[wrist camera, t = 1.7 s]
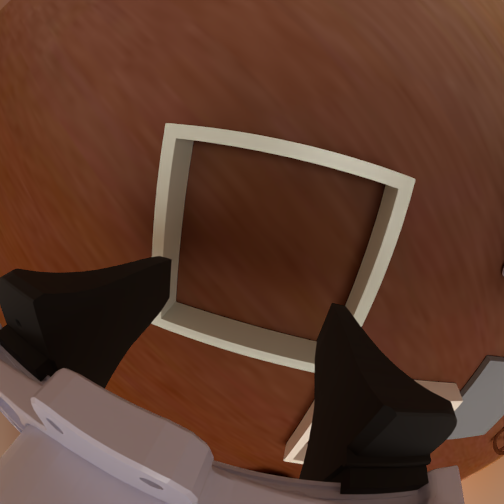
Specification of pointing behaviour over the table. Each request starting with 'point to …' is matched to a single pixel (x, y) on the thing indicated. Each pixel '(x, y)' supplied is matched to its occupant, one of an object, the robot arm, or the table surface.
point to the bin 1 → (239, 333)
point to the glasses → (498, 451)
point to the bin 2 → (301, 435)
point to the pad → (481, 400)
